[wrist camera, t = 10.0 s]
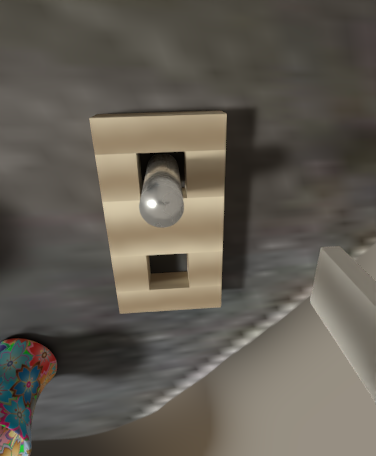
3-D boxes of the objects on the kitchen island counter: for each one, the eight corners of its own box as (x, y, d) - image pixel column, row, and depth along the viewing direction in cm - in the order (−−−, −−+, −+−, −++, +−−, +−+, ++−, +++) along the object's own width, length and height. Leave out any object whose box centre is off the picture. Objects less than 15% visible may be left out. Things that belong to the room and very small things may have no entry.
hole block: (96, 114, 27) (89, 118, 24) (220, 110, 27) (226, 113, 25) (123, 295, 36) (120, 313, 33) (216, 290, 36) (220, 307, 33)
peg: (145, 153, 29) (136, 187, 20) (177, 152, 29) (183, 184, 20) (148, 184, 30) (141, 228, 21) (179, 182, 30) (184, 226, 21)
